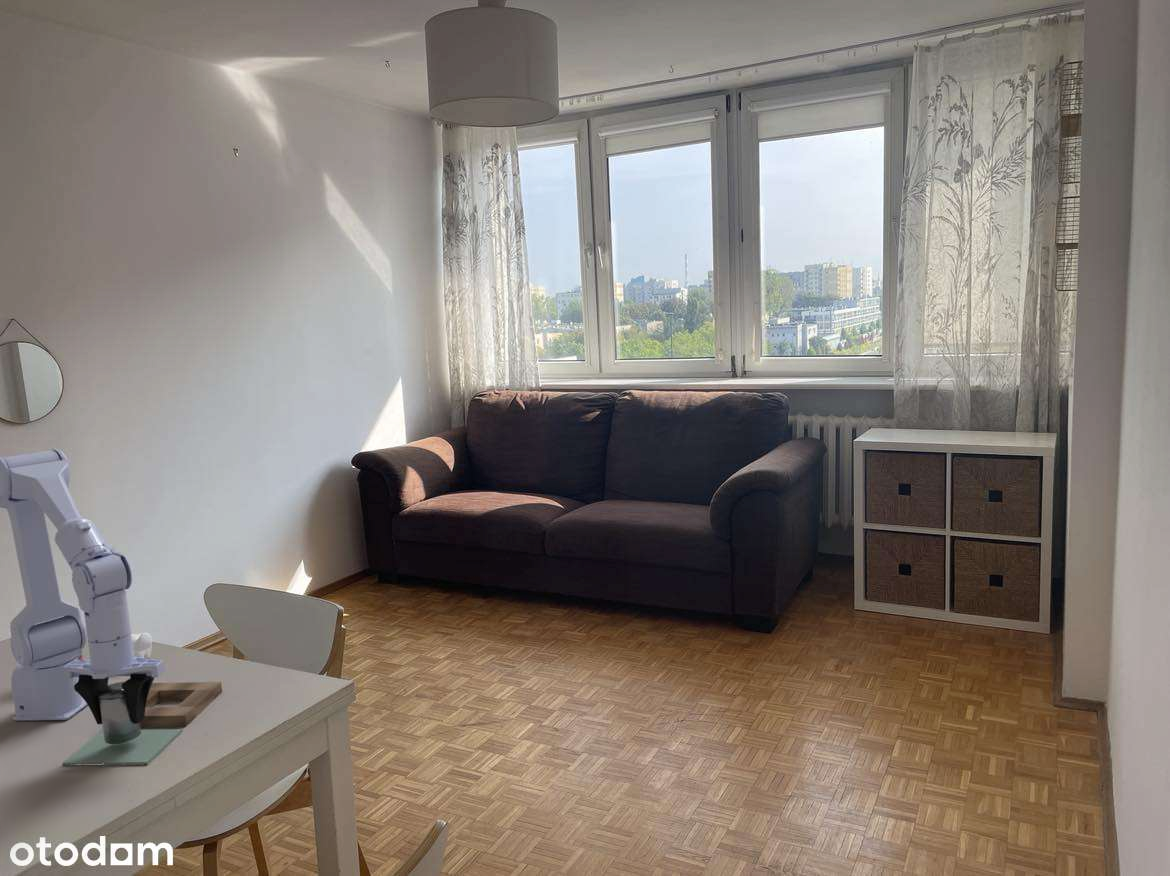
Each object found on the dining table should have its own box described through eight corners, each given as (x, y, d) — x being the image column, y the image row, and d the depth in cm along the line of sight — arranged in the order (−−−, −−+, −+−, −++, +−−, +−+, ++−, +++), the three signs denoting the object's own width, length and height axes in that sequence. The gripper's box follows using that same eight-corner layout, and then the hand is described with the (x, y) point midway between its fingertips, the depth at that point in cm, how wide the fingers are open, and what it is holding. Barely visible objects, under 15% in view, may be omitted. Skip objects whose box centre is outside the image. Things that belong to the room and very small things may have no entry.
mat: (62, 765, 130) (62, 762, 130) (102, 732, 140) (102, 730, 140) (147, 764, 129) (147, 762, 129) (182, 731, 139) (182, 729, 139)
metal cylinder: (97, 744, 132) (90, 696, 131) (116, 728, 137) (110, 682, 136) (129, 743, 132) (123, 696, 131) (147, 727, 137) (141, 681, 135)
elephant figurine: (106, 669, 165) (102, 639, 164) (135, 652, 173) (131, 623, 172) (139, 671, 164) (135, 640, 163) (166, 653, 172) (163, 624, 171)
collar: (111, 726, 142) (109, 716, 141) (153, 692, 154) (151, 683, 154) (186, 726, 141) (185, 715, 141) (222, 691, 153) (221, 681, 153)
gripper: (45, 646, 128) (57, 734, 130) (141, 645, 127) (152, 733, 130) (75, 628, 135) (87, 712, 137) (167, 627, 134) (177, 710, 137)
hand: (120, 721), depth 134 cm, fingers closed on metal cylinder, 5 cm apart
